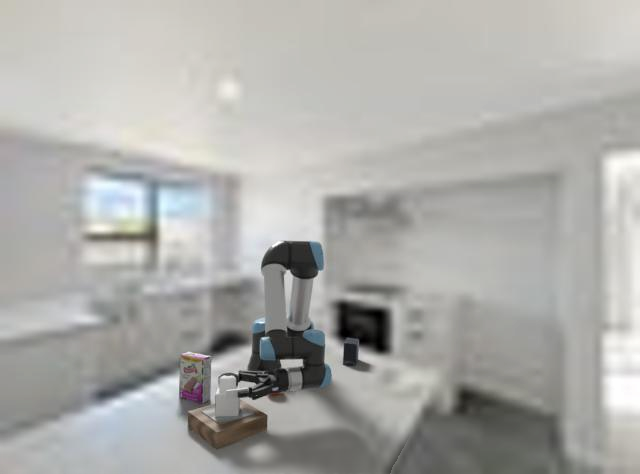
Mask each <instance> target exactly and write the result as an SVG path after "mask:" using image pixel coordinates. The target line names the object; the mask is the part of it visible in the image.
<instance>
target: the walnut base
mask: <svg viewBox="0 0 640 474" xmlns="http://www.w3.org/2000/svg"><path fill="white" fill-rule="evenodd" d="M268 416H269V415H268V414H266V413H265V412H263V411H261V410H259V409H258V408H256V407H254V406H253V405H251V404H249V403H247V402H246V401H244V400H242V399H240V409H239V414H238V416H237V417H215V403H213V404H209V405H205V406H202V407H199V408H195V409H191V410H188V411H187V428H189V430H191V431H192V432H194V433H195V434H196V435H197V436H199V437H200V438H201V439H202V440H204V442H206V443H207V444H209V445H210V446H212V447H213V448H214V449H215V450H218V449H221V448H224V447H227V446H229V445H231V444H235V443H237V442H241V441H243V440H246V439H248V438H252V437H254V436H256V435H259V434H262V433H265V432H267V431H268Z"/></svg>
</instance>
